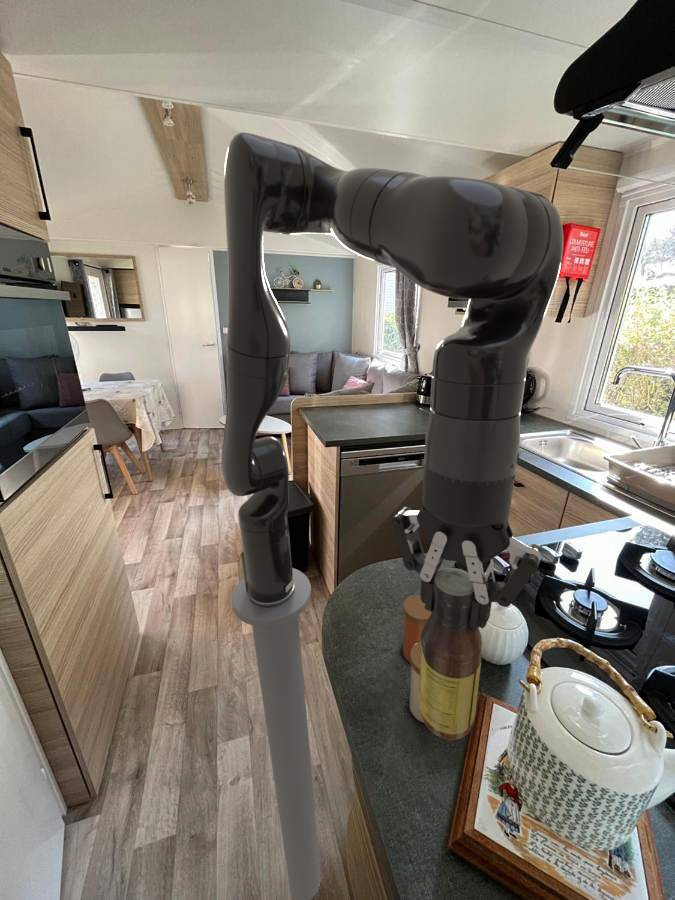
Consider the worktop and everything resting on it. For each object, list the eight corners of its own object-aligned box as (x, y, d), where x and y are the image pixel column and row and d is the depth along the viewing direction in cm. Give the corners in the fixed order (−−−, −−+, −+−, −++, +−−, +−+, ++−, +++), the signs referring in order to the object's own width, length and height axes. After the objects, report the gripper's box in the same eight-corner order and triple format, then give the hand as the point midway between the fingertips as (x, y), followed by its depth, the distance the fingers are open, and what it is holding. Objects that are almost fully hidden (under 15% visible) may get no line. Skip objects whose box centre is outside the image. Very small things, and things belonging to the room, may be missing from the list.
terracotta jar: (396, 656, 65) (397, 610, 61) (410, 635, 69) (412, 590, 66) (426, 672, 62) (429, 624, 58) (438, 649, 66) (442, 603, 63)
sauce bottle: (443, 681, 48) (455, 550, 41) (485, 723, 43) (507, 582, 36) (404, 710, 45) (411, 573, 38) (445, 759, 40) (461, 611, 33)
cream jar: (401, 711, 56) (403, 660, 53) (417, 683, 60) (420, 634, 57) (436, 733, 53) (441, 680, 50) (450, 702, 57) (455, 651, 54)
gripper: (375, 457, 34) (374, 609, 40) (555, 498, 26) (520, 678, 32) (411, 434, 40) (406, 570, 46) (568, 462, 32) (536, 621, 38)
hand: (453, 614), depth 39 cm, fingers closed on sauce bottle, 4 cm apart
